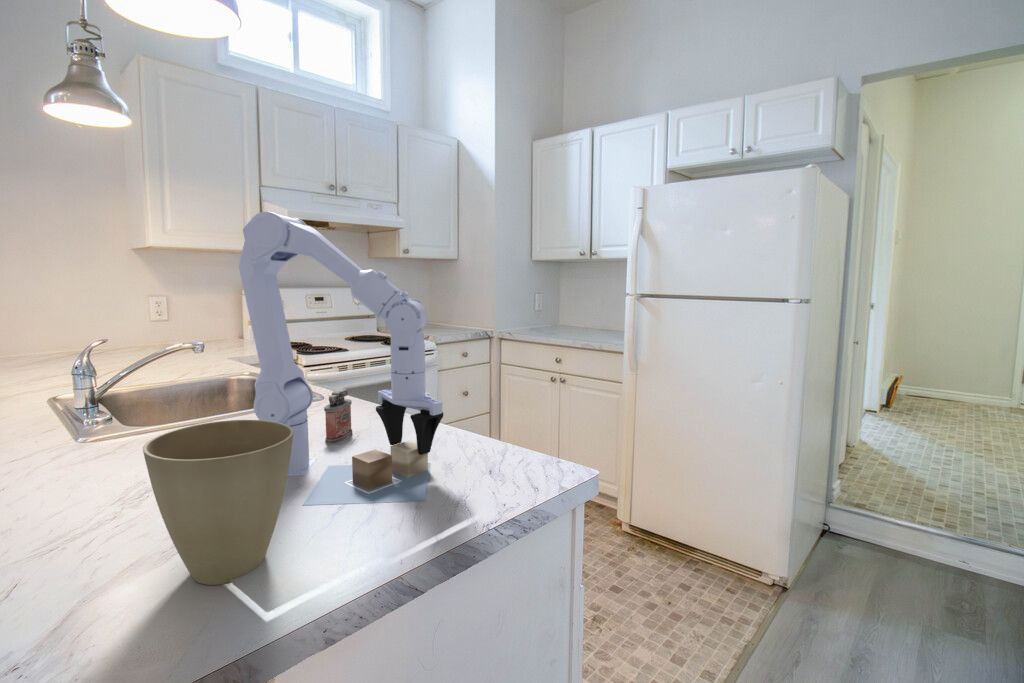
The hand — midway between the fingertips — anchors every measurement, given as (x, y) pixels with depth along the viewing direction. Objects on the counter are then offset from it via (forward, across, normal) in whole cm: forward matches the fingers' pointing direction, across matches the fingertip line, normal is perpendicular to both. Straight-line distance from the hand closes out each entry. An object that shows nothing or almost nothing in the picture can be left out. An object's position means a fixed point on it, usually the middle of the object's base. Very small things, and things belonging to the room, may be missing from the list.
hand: (409, 448), depth 90 cm
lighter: (+5, +27, -4) cm, 28 cm away
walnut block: (+4, +1, +7) cm, 8 cm away
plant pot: (+5, -6, +33) cm, 34 cm away
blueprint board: (+5, +1, +7) cm, 8 cm away
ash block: (+4, 0, 0) cm, 4 cm away
